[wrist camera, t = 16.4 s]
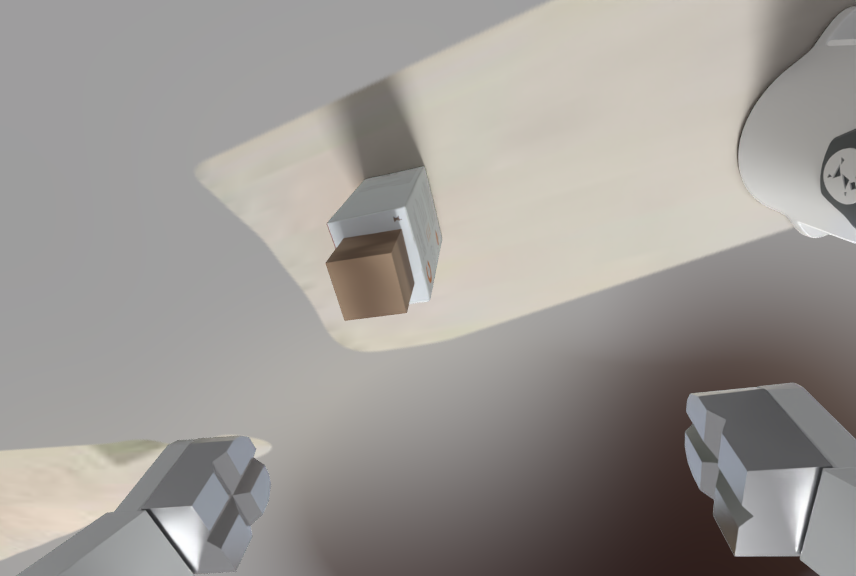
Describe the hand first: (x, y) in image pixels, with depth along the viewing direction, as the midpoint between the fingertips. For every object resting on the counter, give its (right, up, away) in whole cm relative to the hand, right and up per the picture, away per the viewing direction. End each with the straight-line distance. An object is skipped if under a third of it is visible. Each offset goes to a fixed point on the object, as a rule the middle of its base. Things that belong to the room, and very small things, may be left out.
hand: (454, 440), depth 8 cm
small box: (-3, +11, +37) cm, 39 cm away
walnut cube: (-4, +5, +25) cm, 26 cm away
